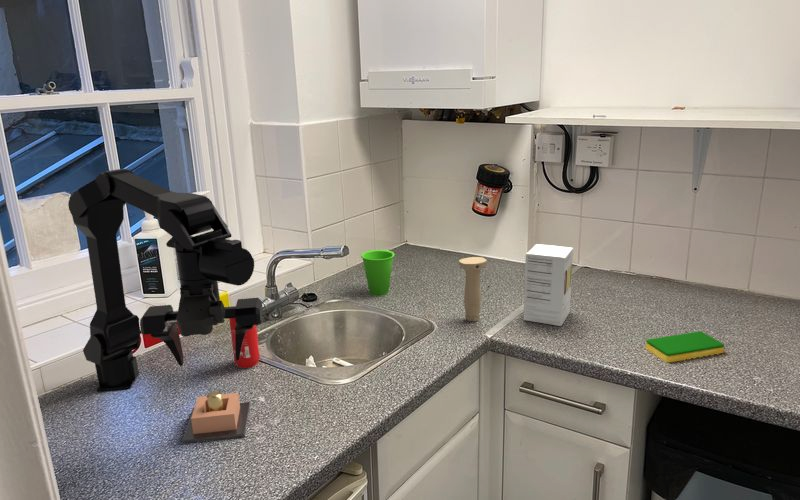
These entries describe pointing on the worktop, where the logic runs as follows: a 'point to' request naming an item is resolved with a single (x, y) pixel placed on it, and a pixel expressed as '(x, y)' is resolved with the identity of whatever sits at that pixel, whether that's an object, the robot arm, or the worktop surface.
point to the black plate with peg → (217, 405)
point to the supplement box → (548, 284)
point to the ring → (216, 415)
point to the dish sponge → (684, 346)
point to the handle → (472, 286)
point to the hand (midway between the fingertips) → (210, 362)
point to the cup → (378, 270)
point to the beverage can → (246, 347)
